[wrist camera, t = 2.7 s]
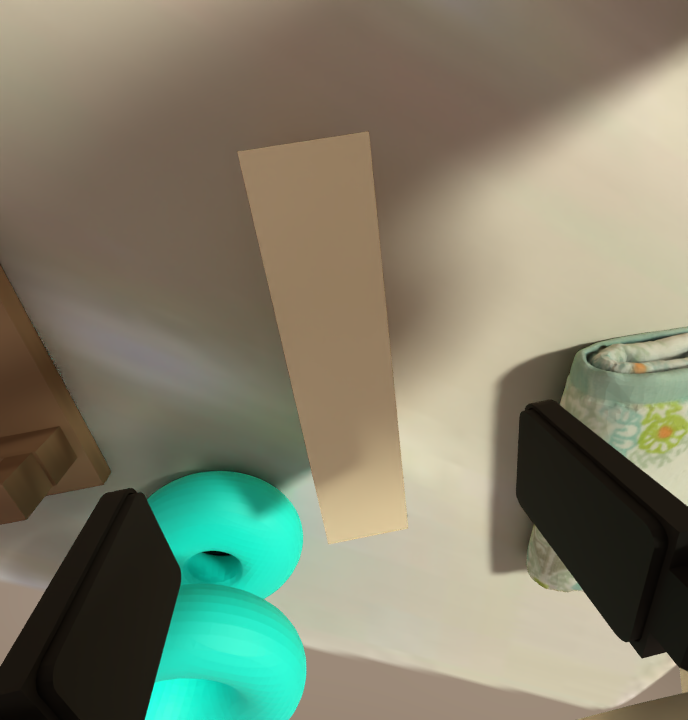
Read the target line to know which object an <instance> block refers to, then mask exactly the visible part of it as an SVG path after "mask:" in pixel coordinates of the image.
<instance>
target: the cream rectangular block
mask: <svg viewBox="0 0 688 720" xmlns="http://www.w3.org/2000/svg"><path fill="white" fill-rule="evenodd" d="M237 153H238V157H239V162H240V166H241V170H242V175H243V179H244V183H245V187H246V192H247V196H248V200H249V205H250V209H251V213H252V218H253V222H254V226H255V230H256V235H257V239H258V243H259V248H260V252H261V256H262V261H263V265H264V269H265V273H266V278H267V282H268V286H269V291H270V295H271V299H272V304H273V308H274V312H275V316H276V321H277V325H278V329H279V334H280V338H281V342H282V347H283V351H284V355H285V359H286V364H287V368H288V372H289V377H290V381H291V385H292V390H293V394H294V398H295V402H296V407H297V411H298V415H299V420H300V424H301V428H302V433H303V437H304V441H305V445H306V450H307V454H308V458H309V463H310V467H311V471H312V476H313V480H314V484H315V488H316V493H317V497H318V501H319V506H320V510H321V514H322V519H323V523H324V527H325V531H326V536H327V540H328V544H333V543H338V542H343V541H348V540H353V539H358V538H363V537H368V536H373V535H378V534H382V533H387V532H392V531H397V530H402V529H407V528H408V522H407V512H406V502H405V491H404V481H403V471H402V461H401V451H400V441H399V431H398V420H397V410H396V400H395V390H394V380H393V370H392V360H391V350H390V339H389V329H388V319H387V309H386V299H385V289H384V279H383V269H382V258H381V248H380V238H379V228H378V218H377V208H376V198H375V188H374V177H373V167H372V157H371V147H370V137H369V131H366V132H360V133H353V134H347V135H340V136H334V137H327V138H321V139H315V140H308V141H302V142H295V143H289V144H282V145H276V146H269V147H263V148H256V149H250V150H243V151H237Z"/></svg>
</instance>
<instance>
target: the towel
mask: <svg viewBox="0 0 688 720" xmlns="http://www.w3.org/2000/svg"><path fill="white" fill-rule="evenodd" d="M560 406H562V407H563V408H564V409H565V410H567V411H568V412H569V413H570V414H572V415H573V416H574V417H576V418H577V419H578V420H579V421H581V422H582V423H583V424H584V425H586V426H587V427H588V428H589V429H591V430H592V431H593V432H595V433H596V434H597V435H598V436H600V437H601V438H602V439H603V440H605V441H606V442H607V443H608V444H610V445H611V446H612V447H613V448H615V449H616V450H617V451H619V452H620V453H621V454H622V455H624V456H625V457H626V458H627V459H629V460H630V461H631V462H632V463H634V464H635V465H636V466H638V467H639V468H640V469H641V470H643V471H644V472H645V473H646V474H648V475H649V476H650V477H651V478H653V479H654V480H655V481H656V482H658V483H659V484H660V485H662V486H663V487H664V488H665V489H667V490H668V491H669V492H670V493H672V494H673V495H674V496H675V497H677V498H678V499H679V500H681V501H682V502H683V503H684V504H686V505H687V506H688V327H682V328H676V329H670V330H664V331H656V332H647V333H641V334H635V335H629V336H624V337H618V338H613V339H609V340H605V341H601V342H597V343H595V344H592V345H590V346H589V347H587V348H584V349H581V350H580V351H578V352H577V353H576V355H575V357H574V360H573V363H572V366H571V369H570V374H569V375H568V378H567V382H566V386H565V389H564V392H563V395H562V399H561V402H560ZM526 565H527V570H528V573H529V575H530V577H531V578H532V579H533V580H534V581H535V582H537V583H538V584H539V585H540V586H542V587H544V588H546V589H550V590H556V591H563V592H571V591H583V590H582V588H581V587H580V585H579V584H578V583H577V581H576V580H575V579H574V577H573V576H572V575H571V573H570V572H569V571H568V569H567V568H566V567H565V565H564V564H563V562H562V561H561V560H560V558H559V557H558V556H557V554H556V553H555V552H554V550H553V549H552V548H551V546H550V545H549V544H548V542H547V541H546V540H545V538H544V537H543V535H542V534H541V533H540V531H539V530H538V529H537V527H536V526H535V525H534V526H533V530H532V533H531V537H530V540H529V545H528V550H527V561H526ZM583 592H584V591H583Z"/></svg>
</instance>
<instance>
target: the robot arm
mask: <svg viewBox="0 0 688 720" xmlns="http://www.w3.org/2000/svg"><path fill="white" fill-rule="evenodd" d="M516 495H517V499H518V502H519V504H520V505H521V507H522V508H523V510H524V511H525V512H526V514H527V515H528V517H529V518H530V519H531V521H532V522H533V523H534V525H535V526H536V527H537V529H538V530H539V531H540V533H541V534H542V535H543V537H544V538H545V540H546V541H547V542H548V544H549V545H550V546H551V548H552V549H553V550H554V552H555V553H556V554H557V556H558V557H559V558H560V560H561V561H562V562H563V564H564V565H565V567H566V568H567V569H568V571H569V572H570V573H571V575H572V576H573V577H574V579H575V580H576V581H577V583H578V584H579V585H580V587H581V588H582V590H583V591H584V592H585V594H586V595H587V596H588V598H589V599H590V600H591V602H592V603H593V604H594V606H595V607H596V608H597V610H598V611H599V612H600V614H601V615H602V617H603V618H604V619H605V621H606V622H607V623H608V625H609V626H610V627H611V629H612V630H613V631H614V633H615V634H616V635H617V636H618V637H619V638H620V639H621V640H622V641H624V642H630V644H631V645H632V646H633V648H634V649H635V650H636V651H637V653H638V654H639V655H640V657H641V658H645V657H649V656H653V655H657V654H661V653H665V652H667V653H668V654H669V656H670V657H671V658H672V659H673V661H674V662H675V663H676V664H677V665H678V666H679V669H680V678H681V688H682V693H681V694H678V695H673V696H669V697H664V698H660V699H656V700H652V701H647V702H643V703H639V704H635V705H631V706H627V707H623V708H619V709H615V710H612V711H608V712H604V713H600V714H596V715H592V716H589V717H584V718H581V719H577V720H688V506H687V505H686V504H684V503H683V502H682V501H681V500H679V499H678V498H677V497H675V496H674V495H673V494H672V493H670V492H669V491H668V490H667V489H665V488H664V487H663V486H662V485H660V484H659V483H658V482H656V481H655V480H654V479H653V478H651V477H650V476H649V475H648V474H646V473H645V472H644V471H643V470H641V469H640V468H639V467H638V466H636V465H635V464H634V463H632V462H631V461H630V460H629V459H627V458H626V457H625V456H624V455H622V454H621V453H620V452H619V451H617V450H616V449H615V448H613V447H612V446H611V445H610V444H608V443H607V442H606V441H605V440H603V439H602V438H601V437H600V436H598V435H597V434H596V433H595V432H593V431H592V430H591V429H589V428H588V427H587V426H586V425H584V424H583V423H582V422H581V421H579V420H578V419H577V418H576V417H574V416H573V415H572V414H570V413H569V412H568V411H567V410H565V409H564V408H563V407H562V406H560V405H559V404H558V403H557V402H555V401H553V400H545V401H541V402H536V403H531V404H528V405H527V406H526V408H525V411H522V412H521V413H520V420H519V440H518V461H517V482H516ZM180 585H181V570H180V567H179V565H178V563H177V561H176V558H175V556H174V554H173V552H172V550H171V548H170V546H169V544H168V542H167V540H166V538H165V536H164V534H163V532H162V530H161V528H160V526H159V524H158V522H157V520H156V518H155V516H154V513H153V511H152V509H151V507H150V505H149V503H148V501H147V499H146V497H145V495H144V494H143V493H140V492H139V493H137V492H136V490H134V489H133V488H128V489H123V490H118V491H114V492H109V493H106V494H104V495H103V496H102V497H101V498H100V500H99V502H98V503H97V505H96V507H95V509H94V510H93V512H92V514H91V515H90V517H89V519H88V520H87V522H86V524H85V525H84V527H83V529H82V530H81V532H80V534H79V535H78V537H77V539H76V540H75V542H74V544H73V545H72V547H71V549H70V550H69V552H68V554H67V555H66V557H65V559H64V561H63V562H62V564H61V566H60V567H59V569H58V571H57V572H56V574H55V576H54V577H53V579H52V581H51V582H50V584H49V586H48V587H47V589H46V591H45V592H44V594H43V596H42V598H41V599H40V601H39V602H38V604H37V606H36V608H35V609H34V611H33V613H32V614H31V616H30V618H29V619H28V621H27V623H26V624H25V626H24V628H23V629H22V631H21V633H20V635H19V636H18V638H17V639H16V641H15V643H14V644H13V646H12V648H11V650H10V651H9V653H8V654H7V656H6V658H5V660H4V661H3V663H2V665H1V666H0V720H145V717H146V714H147V710H148V706H149V702H150V698H151V695H152V691H153V687H154V683H155V679H156V676H157V672H158V668H159V664H160V661H161V657H162V653H163V649H164V645H165V642H166V638H167V634H168V630H169V627H170V623H171V619H172V615H173V611H174V608H175V604H176V600H177V596H178V593H179V589H180Z"/></svg>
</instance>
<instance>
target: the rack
mask: <svg viewBox="0 0 688 720" xmlns="http://www.w3.org/2000/svg"><path fill="white" fill-rule="evenodd" d="M110 474H111V470H110V469H109V467H108V465H107V463H106V461H105V459H104V457H103V456H102V454H101V452H100V450H99V448H98V446H97V444H96V442H95V441H94V439H93V437H92V435H91V433H90V431H89V429H88V428H87V426H86V424H85V422H84V420H83V418H82V416H81V414H80V413H79V411H78V409H77V407H76V405H75V403H74V401H73V400H72V398H71V396H70V394H69V392H68V390H67V388H66V386H65V385H64V383H63V381H62V379H61V377H60V375H59V373H58V372H57V370H56V368H55V366H54V364H53V362H52V360H51V359H50V357H49V355H48V353H47V351H46V349H45V347H44V345H43V344H42V342H41V340H40V338H39V336H38V334H37V332H36V331H35V329H34V327H33V325H32V323H31V321H30V319H29V317H28V316H27V314H26V312H25V310H24V308H23V306H22V304H21V303H20V301H19V299H18V297H17V295H16V293H15V291H14V289H13V288H12V286H11V284H10V282H9V280H8V278H7V276H6V275H5V273H4V271H3V269H2V267H1V265H0V525H1V524H6V523H12V522H17V521H22V520H27V518H28V517H29V516H30V515H31V513H32V512H33V511H34V510H35V508H36V507H37V506H38V504H39V503H40V502H41V501H42V499H43V498H44V497H45V496H48V495H54V494H59V493H64V492H69V491H74V490H79V489H84V488H89V487H94V486H100V485H104V483H105V482H106V480H107V478H108V477H109V475H110Z"/></svg>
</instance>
